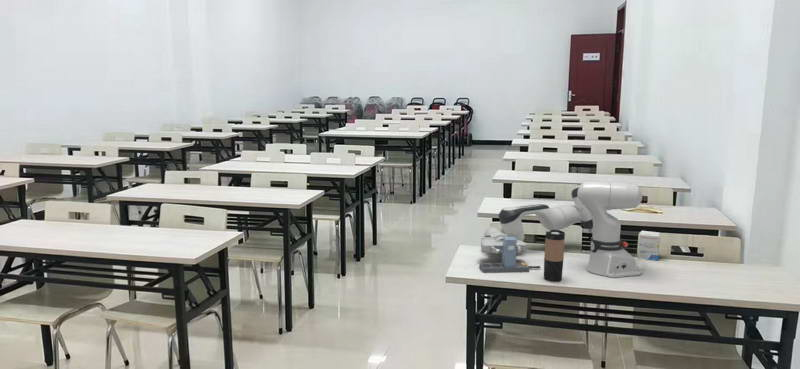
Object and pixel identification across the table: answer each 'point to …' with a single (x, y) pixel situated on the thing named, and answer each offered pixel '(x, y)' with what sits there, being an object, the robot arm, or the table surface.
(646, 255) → the ink box
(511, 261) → the blue rectangular block
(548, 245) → the travel mug
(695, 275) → the table surface
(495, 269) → the power strip
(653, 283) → the table surface
